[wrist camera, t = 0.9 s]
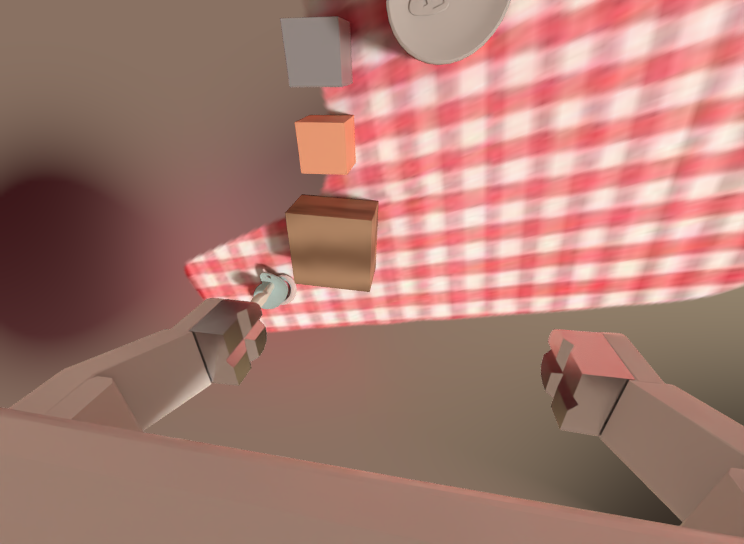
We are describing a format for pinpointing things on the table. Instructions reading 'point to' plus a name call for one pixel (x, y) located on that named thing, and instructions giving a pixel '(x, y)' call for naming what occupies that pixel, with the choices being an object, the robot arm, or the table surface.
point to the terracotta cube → (326, 144)
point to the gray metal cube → (317, 51)
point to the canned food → (444, 27)
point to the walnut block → (333, 241)
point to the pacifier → (274, 291)
